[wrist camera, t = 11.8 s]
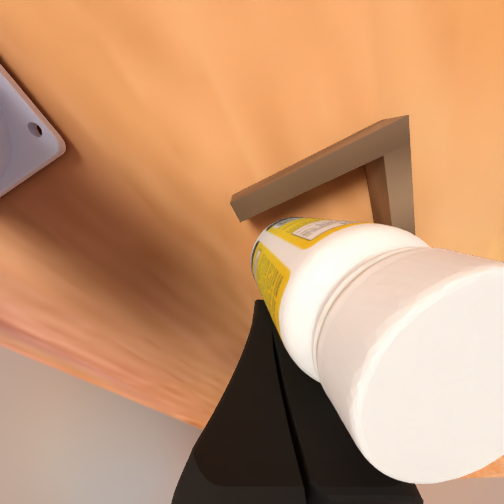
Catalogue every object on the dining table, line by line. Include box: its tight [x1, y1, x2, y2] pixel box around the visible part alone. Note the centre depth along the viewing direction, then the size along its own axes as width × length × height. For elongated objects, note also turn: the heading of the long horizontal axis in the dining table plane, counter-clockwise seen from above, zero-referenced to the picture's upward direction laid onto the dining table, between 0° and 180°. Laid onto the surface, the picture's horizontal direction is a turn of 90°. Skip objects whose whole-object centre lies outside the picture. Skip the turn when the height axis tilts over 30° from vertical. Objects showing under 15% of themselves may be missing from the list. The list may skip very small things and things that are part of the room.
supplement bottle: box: [251, 217, 504, 484], centre depth 7 cm, size 5×5×8 cm
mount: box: [230, 115, 415, 235], centre depth 11 cm, size 14×8×4 cm, turn 26°
